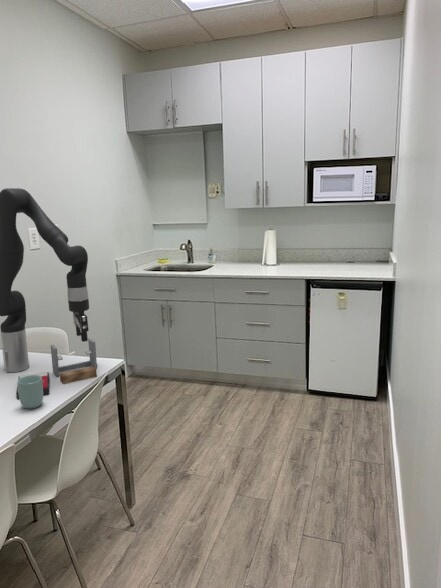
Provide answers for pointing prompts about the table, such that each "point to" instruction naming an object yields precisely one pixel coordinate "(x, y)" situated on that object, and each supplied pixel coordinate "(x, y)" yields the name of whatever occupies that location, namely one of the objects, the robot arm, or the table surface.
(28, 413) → the table surface
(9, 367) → the robot arm
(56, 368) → the shelf frame
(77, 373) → the shelf bar
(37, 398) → the cup
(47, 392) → the calculator
